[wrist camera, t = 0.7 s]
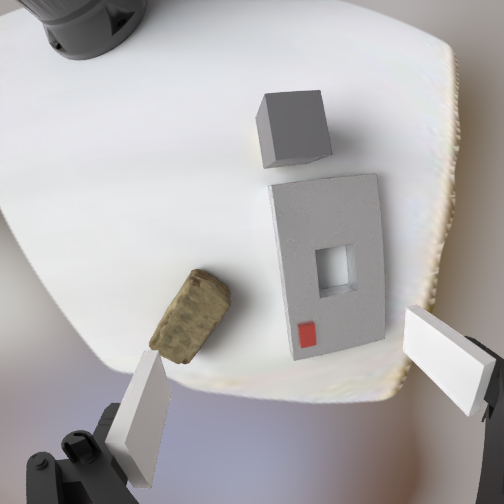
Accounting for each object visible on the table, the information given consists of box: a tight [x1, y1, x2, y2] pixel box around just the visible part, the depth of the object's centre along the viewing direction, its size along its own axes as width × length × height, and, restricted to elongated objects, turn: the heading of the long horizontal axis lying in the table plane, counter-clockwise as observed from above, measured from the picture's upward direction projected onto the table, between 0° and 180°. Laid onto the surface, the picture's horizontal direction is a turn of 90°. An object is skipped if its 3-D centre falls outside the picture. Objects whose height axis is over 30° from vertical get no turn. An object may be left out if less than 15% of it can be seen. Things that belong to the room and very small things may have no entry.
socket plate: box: [268, 174, 385, 361], centre depth 37 cm, size 22×13×4 cm, turn 9°
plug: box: [256, 90, 332, 169], centre depth 30 cm, size 6×5×12 cm
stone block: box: [149, 269, 231, 364], centre depth 37 cm, size 6×12×5 cm, turn 146°
